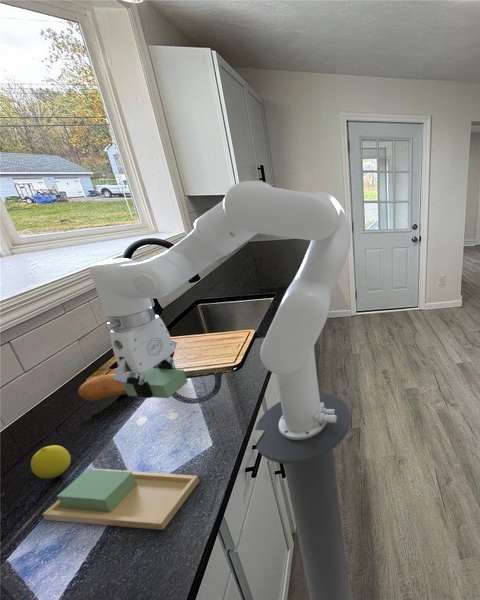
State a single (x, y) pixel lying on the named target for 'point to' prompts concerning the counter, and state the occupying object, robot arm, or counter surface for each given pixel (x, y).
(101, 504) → the pad
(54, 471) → the lemon
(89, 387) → the potato
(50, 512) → the tray
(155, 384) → the pad
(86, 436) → the counter surface
